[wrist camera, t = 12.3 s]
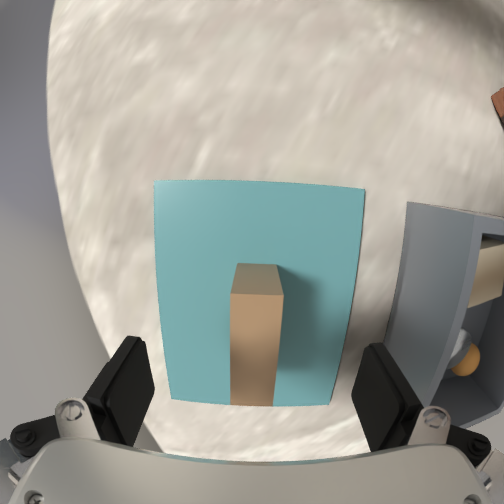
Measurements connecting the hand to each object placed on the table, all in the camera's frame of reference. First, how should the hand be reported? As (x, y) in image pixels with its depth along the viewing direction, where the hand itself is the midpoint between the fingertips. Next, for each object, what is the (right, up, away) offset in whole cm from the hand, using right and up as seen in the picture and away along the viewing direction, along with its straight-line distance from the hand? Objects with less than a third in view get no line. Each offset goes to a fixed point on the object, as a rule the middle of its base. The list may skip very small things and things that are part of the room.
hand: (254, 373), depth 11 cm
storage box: (+16, 0, +8) cm, 18 cm away
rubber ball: (+18, -4, +6) cm, 19 cm away
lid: (0, +1, +8) cm, 8 cm away
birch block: (+16, +4, +6) cm, 18 cm away
